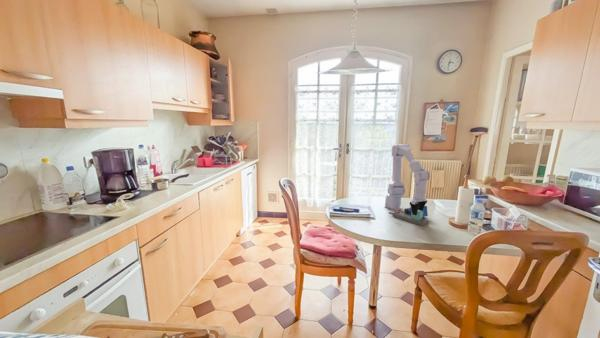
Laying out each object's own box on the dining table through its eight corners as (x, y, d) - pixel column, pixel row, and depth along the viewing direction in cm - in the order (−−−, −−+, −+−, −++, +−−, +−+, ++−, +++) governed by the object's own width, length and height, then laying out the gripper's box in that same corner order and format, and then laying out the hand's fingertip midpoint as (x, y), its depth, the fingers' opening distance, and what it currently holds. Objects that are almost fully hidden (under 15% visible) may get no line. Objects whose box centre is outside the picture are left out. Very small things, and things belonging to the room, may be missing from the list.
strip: (386, 214, 155) (386, 210, 154) (391, 212, 159) (392, 207, 158) (422, 227, 138) (422, 222, 137) (427, 223, 143) (427, 218, 142)
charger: (410, 221, 144) (411, 210, 143) (413, 219, 147) (414, 208, 145) (418, 224, 141) (420, 212, 139) (421, 222, 143) (423, 211, 142)
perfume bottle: (427, 216, 147) (408, 216, 147) (422, 216, 153) (403, 216, 153) (426, 206, 148) (407, 205, 148) (421, 206, 154) (402, 206, 154)
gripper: (421, 195, 132) (418, 218, 135) (432, 190, 142) (429, 211, 144) (408, 192, 137) (406, 214, 140) (419, 187, 147) (417, 208, 150)
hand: (417, 213), depth 143 cm, fingers open, 7 cm apart
